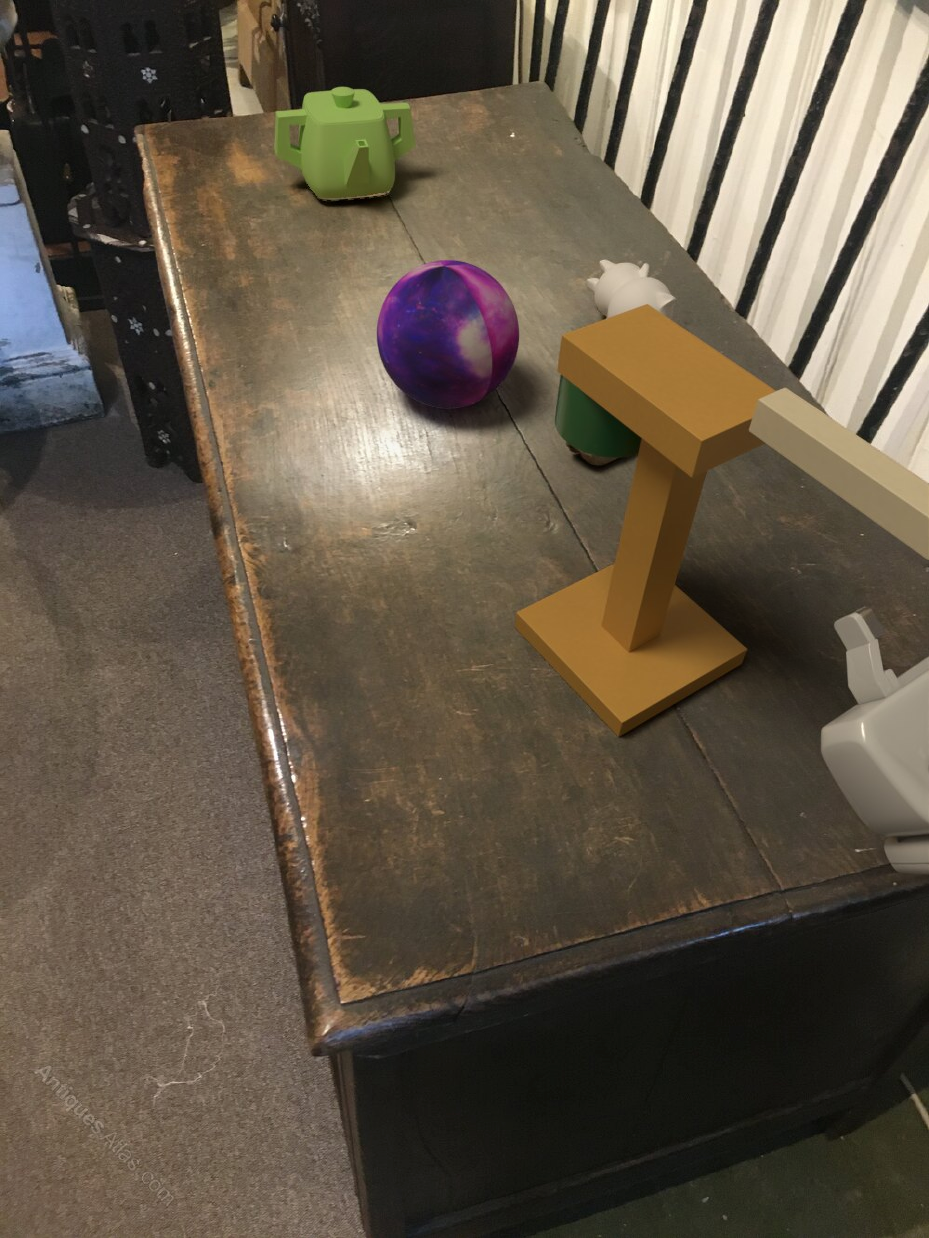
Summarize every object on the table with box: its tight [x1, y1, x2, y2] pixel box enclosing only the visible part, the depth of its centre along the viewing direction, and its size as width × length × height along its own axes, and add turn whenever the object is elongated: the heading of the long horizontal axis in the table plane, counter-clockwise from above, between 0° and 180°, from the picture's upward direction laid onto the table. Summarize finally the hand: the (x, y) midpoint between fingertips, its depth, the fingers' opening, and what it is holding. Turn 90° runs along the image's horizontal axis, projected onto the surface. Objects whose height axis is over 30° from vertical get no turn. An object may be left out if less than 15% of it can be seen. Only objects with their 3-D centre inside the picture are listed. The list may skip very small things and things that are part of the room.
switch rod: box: [749, 387, 929, 561], centre depth 56 cm, size 15×3×3 cm, turn 35°
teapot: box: [273, 86, 416, 202], centre depth 136 cm, size 18×20×13 cm
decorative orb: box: [376, 259, 520, 410], centre depth 102 cm, size 15×15×15 cm
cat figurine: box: [586, 259, 677, 321], centre depth 116 cm, size 9×11×12 cm
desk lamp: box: [514, 304, 777, 738], centre depth 75 cm, size 18×14×27 cm
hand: (903, 580), depth 56 cm, fingers open, 8 cm apart
